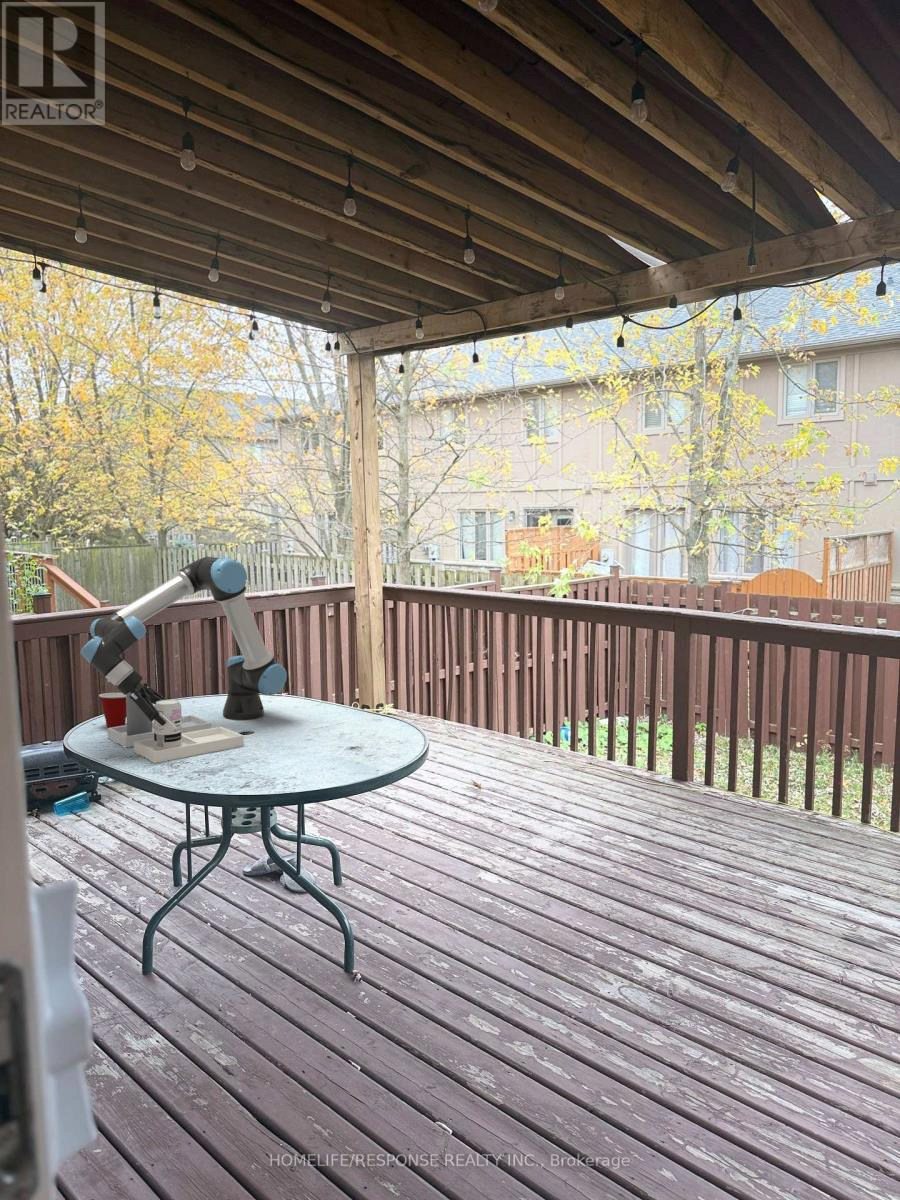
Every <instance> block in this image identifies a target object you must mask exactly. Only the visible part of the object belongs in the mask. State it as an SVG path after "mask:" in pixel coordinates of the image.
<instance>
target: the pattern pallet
mask: <svg viewBox="0 0 900 1200" xmlns="http://www.w3.org/2000/svg"><path fill="white" fill-rule="evenodd" d="M131 695H132V694H131V692H129V693H128V694H126V711H127V717H126V724H125V725H124V726H118V727H112V728H107V739H108V738H109V739H108V740H110V739H111V740H110V741H112V740H113V741H112V742H114V741H115V742H114V743H116V742H117V743H116V744H118V743H119V744H121V745H123V746H125V747H128V746H133V747H134V742H136V741H142V740H147V739H153V738H154V720H153V721H152V722H151V721H150V719H149V718H148V717H147V716H146V715H145V714H144V713H143V711H142V710H141V709H140V708H139V707H138V705H137V704H136V703H135V702H134V701H133V700H132V699H131V698H130V696H131ZM181 716H182V717H183V718H184V719H183V720H182V733H188V732H193V731H199V730H205V729H211V728H213V724H212V723H213V722H211V721H208V720H206V719H204V718H200V717H199V716H197V715H194V714H189V715H181ZM119 744H118V745H119ZM121 745H120V746H121ZM123 746H122V747H123ZM125 747H124V748H125ZM128 748H129V747H128Z"/></svg>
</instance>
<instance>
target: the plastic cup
mask: <svg viewBox="0 0 900 1200" xmlns="http://www.w3.org/2000/svg"><path fill="white" fill-rule="evenodd" d="M98 696H99V698H100V701H101V705H102V711H103V714H104V718H105V724H106V728H107V729H108V728H112V727H118V726H124V725H126V723H127V711H126V695H124V694H123V693H122V692H107V693H100V694H98Z"/></svg>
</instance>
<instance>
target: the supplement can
mask: <svg viewBox="0 0 900 1200" xmlns="http://www.w3.org/2000/svg"><path fill="white" fill-rule="evenodd" d="M154 707H155V708H156V709H157V711H158V712H159V715H160V714H162V715H164V716H165V717H166V718H167V719H168V720H169V721H170V722H171V723H172V724H173V725H174V726H176V727H177V728H176V729H175V730H174V731H173V732H172V733H171V734H169V733H168V732H167V731H166V730H165V729H163V728H162V727H161V726H160V725H159V724H158V723H157V722H156V721H155V720H153V721H154V748H155V749H156V750H157V751H158V750H163V749H168V748H174V747H179V746H182V716H183V715H182V704H181V702H180V701H179V700H178V699H167V700H160V701H157V702H156V704H154Z"/></svg>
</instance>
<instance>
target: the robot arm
mask: <svg viewBox="0 0 900 1200" xmlns="http://www.w3.org/2000/svg"><path fill="white" fill-rule="evenodd" d="M247 580H248V574H247V570H246V568H245V566H244V565H243V564H242V563H241V562H240V561H238V560H236V559H233V558H230V557H214V556H204V557H201V558H199V559H196V560H194V561H193V562H190V563H189V564H188V565H186V566H184V567H181V569H179V570H177V571H176V572H175V573H174V577H171V578H170V579H169V580H167V581H165V582H163V583H161V584H160V585H158V586H156V587H155V588H154V589H152V590H150V591H149V592H146V593H145V594H144V595H142V596H140V597H139V598H137V599H135V600H134V601H132V602H130V603H129V604H127V605H125V606H124V607H121V609H119V610H117V611H116V612H113V613H112V614H110V615H109V616H107V617H102V618H97V619H95V620H94V621H92V623H91V625H90V627H89V633H90V635H91V637H92V638H91V639H90V640H89V641H88V642H86V644H84V646H83V647H82V648H80V649H81V650H80V655H81V656H82V657H83V658H84V659H85V660H86V661H87V662H88V664H90V665H91V666H93V668H94V669H96V670H97V671H98V672H99V673H100V674H101V675H103V677H104V678H106V679H107V680H106V681H107V682H108V683H111V684H112V685H113V686H116V689H117V690H119V692H120V693H123V694H124V695H126V694H128V693H129V692H131V694H132V695H131V696H130V698H131V699H132V700H133V701H134V702H135V703H136V704H137V705H138V707H139V708H140V709H141V710H142V711H143V713H144V714H145V715H146V716H147V717H148V718H149V719H150V721H151V722H152V721H154V720H155V721H156V722H157V723H158V724H159V725H160V726H161V727H162V728H163V729H165V730H166V731H167V732H168V733H169V734H171V733H172V732H173V731H174V730H175V729H176V728H177V727H176V726H174V725H173V724H172V723H171V722H170V721H169V720H168V719H167V718H166V717H165V716H164V715H162V714H160V715H159V712H158V711H157V709H156V708H155V707H154V706H155V704H156V702H157V701H160V700H168V698H166V697H165V696H163V695H162V694H160V693H159V692H158V691H156V690H155V689H153V688H152V687H151V686H150V685H149V684H148V683H147V682H145V683H144V684H142V683H141V681H143V679H144V678H143V676H142V675H141V674H140V673H139V672H137V670H133V669H134V667H132V666H131V664H129V663H128V662H127V661H126V660H125V659H124V658H123V657H121V656H122V655H124V653H126V652H127V651H128V650H129V649H130V648H132V647H133V645H135V644H136V643H137V642H138V641H140V639H141V638H142V637H143V636H144V635H146V633H147V628H146V626H145V624H144V622H146V621H147V620H149V619H150V618H152V617H153V616H155V615H157V614H158V613H160V612H162V611H163V610H165V609H166V608H168V607H170V606H172V604H174V603H176V602H178V601H179V600H181V599H183V598H184V597H186V596H192V595H194V594H196V593H198V592H200V591H206V590H207V591H210V593H211V595H212V597H213V600H214V601H215V602H216V603H219V604H220V605H221V607H222V609H223V612H224V615H225V617H226V620H227V622H228V624H229V626H230V628H231V631H232V633H233V636H234V639H235V640H236V643H237V645H238V647H239V648H238V649H239V650H240V653H241V655H235V656H230V657H229V658H228V659H227V666H226V668H227V669H226V670H227V671H226V672H227V677H226V678H227V695H226V696H227V697H226V699H225V703H224V707H223V709H222V717H223V718H224V719H229V720H235V719H237V721H239V720H242V721H243V720H244V719H245V720H254V719H257V718H258V717H259V718H261V717H263V716H264V714H265V710H264V705H263V701H262V700H261V699H262V698H261V696H260V694H261V695H263V696H274V695H276V694H278V693H280V692H281V691H282V690H283V688H284V686H285V683H286V682H287V678H288V677H287V676H288V673H287V671H286V668H285V667H284V666H283V665H282V664H280V663H277V661H276V659H275V658H276V657H275V656H274V654H273V653H272V652H271V651H269V650H267V647H266V645H265V642H264V640H263V637H262V635H261V633H260V630H259V628H258V625H257V623H256V621H255V618H254V615H253V613H252V610H251V609H250V606H249V602H248V600H247V598H246V596H245V594H246V592H247V587H246V585H247ZM183 719H184V718H183V717H182V720H183ZM245 720H244V721H245Z"/></svg>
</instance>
